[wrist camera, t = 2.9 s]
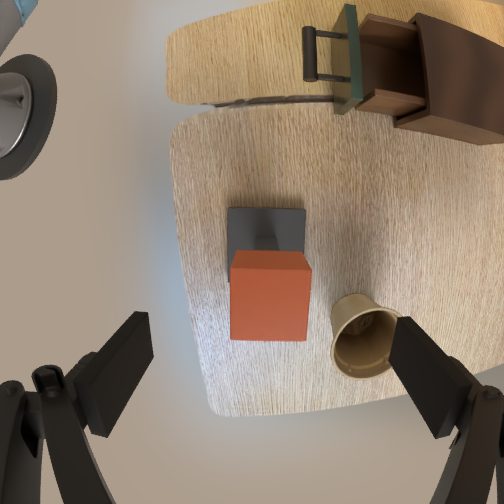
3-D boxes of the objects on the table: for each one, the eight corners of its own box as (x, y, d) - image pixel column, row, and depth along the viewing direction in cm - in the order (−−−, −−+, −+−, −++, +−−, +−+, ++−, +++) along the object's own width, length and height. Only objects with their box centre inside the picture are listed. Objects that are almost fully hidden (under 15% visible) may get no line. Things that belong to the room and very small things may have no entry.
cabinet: (393, 127, 34) (430, 115, 25) (387, 41, 31) (417, 12, 22) (478, 145, 34) (521, 142, 24) (471, 66, 31) (509, 50, 22)
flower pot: (376, 345, 41) (397, 379, 32) (313, 344, 41) (324, 381, 33) (390, 283, 39) (418, 308, 30) (323, 279, 39) (339, 306, 30)
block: (236, 310, 25) (230, 340, 20) (236, 249, 24) (229, 267, 19) (298, 311, 25) (306, 341, 20) (302, 251, 24) (312, 269, 19)
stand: (228, 279, 39) (212, 331, 26) (228, 207, 37) (209, 222, 23) (300, 281, 39) (319, 333, 25) (304, 208, 37) (329, 225, 23)
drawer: (297, 111, 33) (307, 93, 26) (296, 29, 31) (304, -2, 23) (431, 128, 33) (464, 120, 25) (424, 51, 30) (453, 32, 23)
